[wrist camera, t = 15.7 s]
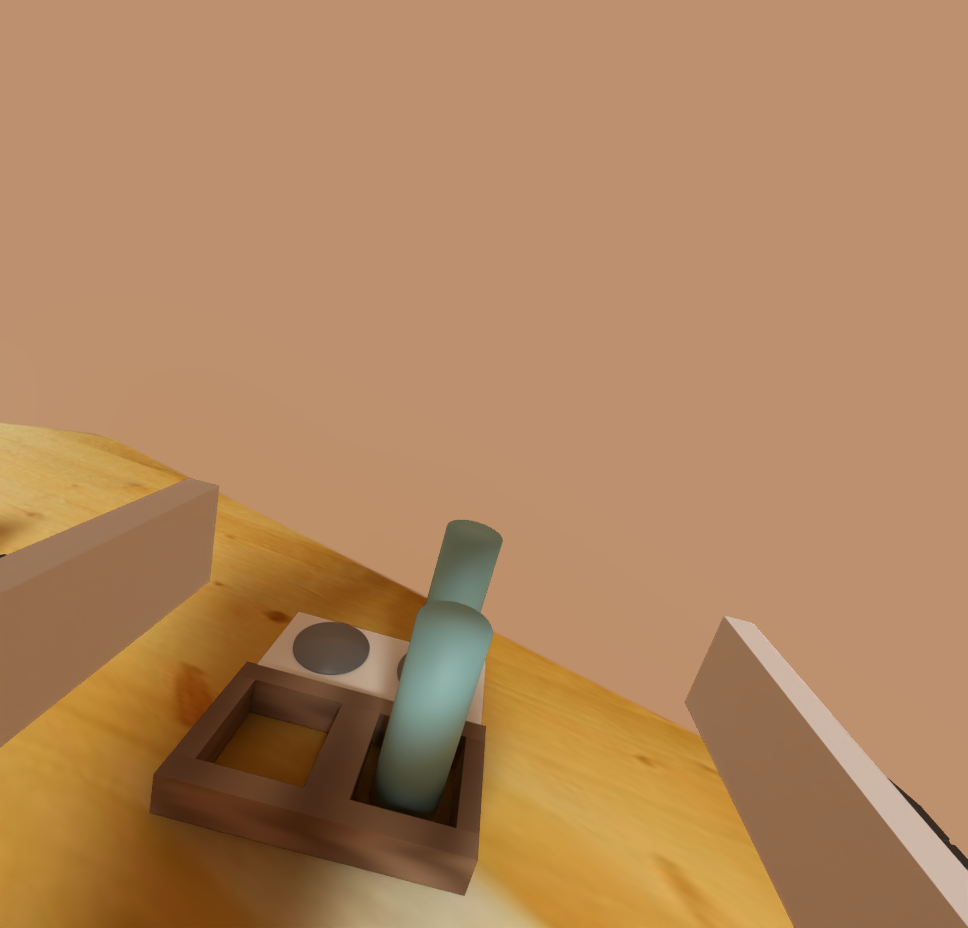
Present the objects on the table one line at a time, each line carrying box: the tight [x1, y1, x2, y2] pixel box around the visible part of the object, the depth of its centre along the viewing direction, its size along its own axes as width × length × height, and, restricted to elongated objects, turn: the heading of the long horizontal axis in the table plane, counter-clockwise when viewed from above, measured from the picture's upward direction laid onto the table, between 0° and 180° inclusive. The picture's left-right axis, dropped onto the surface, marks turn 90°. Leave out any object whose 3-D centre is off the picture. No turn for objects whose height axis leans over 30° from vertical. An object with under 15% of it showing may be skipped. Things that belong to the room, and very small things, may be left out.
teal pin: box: [369, 601, 493, 821], centre depth 25 cm, size 4×4×12 cm
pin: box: [426, 520, 503, 612], centre depth 33 cm, size 4×4×12 cm
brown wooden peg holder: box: [150, 662, 486, 896], centre depth 26 cm, size 16×8×2 cm, turn 85°
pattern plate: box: [258, 612, 486, 725], centre depth 34 cm, size 16×8×1 cm, turn 85°
